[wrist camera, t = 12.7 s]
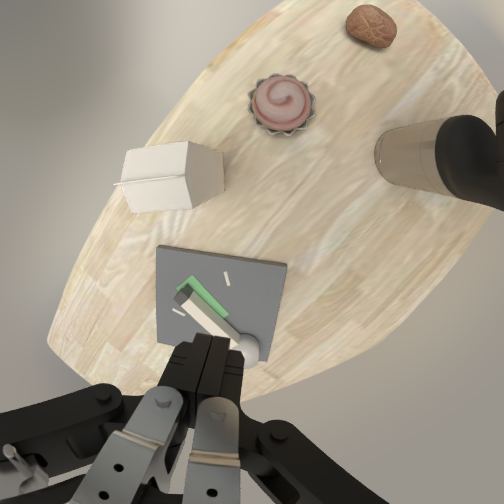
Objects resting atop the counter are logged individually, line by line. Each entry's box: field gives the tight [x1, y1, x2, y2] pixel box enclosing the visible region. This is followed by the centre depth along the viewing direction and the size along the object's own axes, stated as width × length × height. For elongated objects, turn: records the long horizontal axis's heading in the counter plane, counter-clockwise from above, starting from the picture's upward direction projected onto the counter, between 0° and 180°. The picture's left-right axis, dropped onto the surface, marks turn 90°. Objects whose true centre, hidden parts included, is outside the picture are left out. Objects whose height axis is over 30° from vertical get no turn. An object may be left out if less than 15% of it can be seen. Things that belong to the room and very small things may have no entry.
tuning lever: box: [173, 284, 259, 369], centre depth 44 cm, size 18×5×4 cm, turn 42°
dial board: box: [156, 245, 287, 362], centre depth 46 cm, size 21×19×2 cm
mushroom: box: [346, 5, 397, 48], centre depth 28 cm, size 8×6×8 cm
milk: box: [113, 141, 225, 214], centre depth 30 cm, size 6×6×22 cm
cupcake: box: [247, 74, 316, 136], centre depth 32 cm, size 9×9×10 cm
